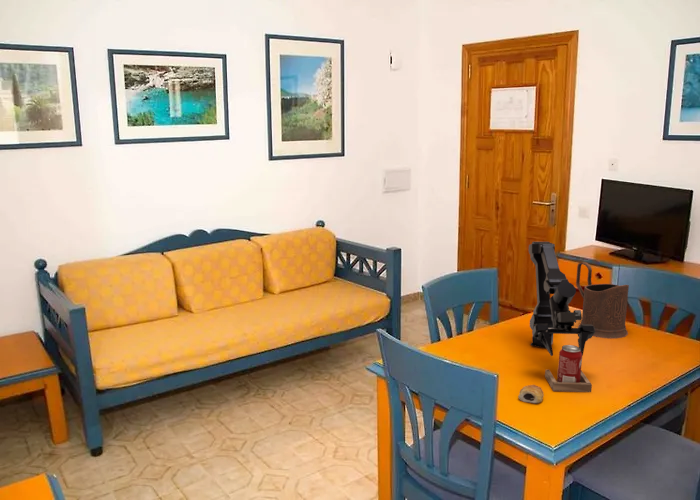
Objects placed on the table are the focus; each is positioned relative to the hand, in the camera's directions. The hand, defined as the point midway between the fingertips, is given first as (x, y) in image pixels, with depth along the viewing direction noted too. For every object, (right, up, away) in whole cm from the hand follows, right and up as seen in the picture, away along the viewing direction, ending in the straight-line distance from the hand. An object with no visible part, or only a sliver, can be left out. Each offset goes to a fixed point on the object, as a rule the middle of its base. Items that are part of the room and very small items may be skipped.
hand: (566, 355), depth 194 cm
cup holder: (+30, +2, +50) cm, 59 cm away
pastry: (-14, -11, -10) cm, 21 cm away
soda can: (0, -9, -1) cm, 9 cm away
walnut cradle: (0, -9, -1) cm, 9 cm away
